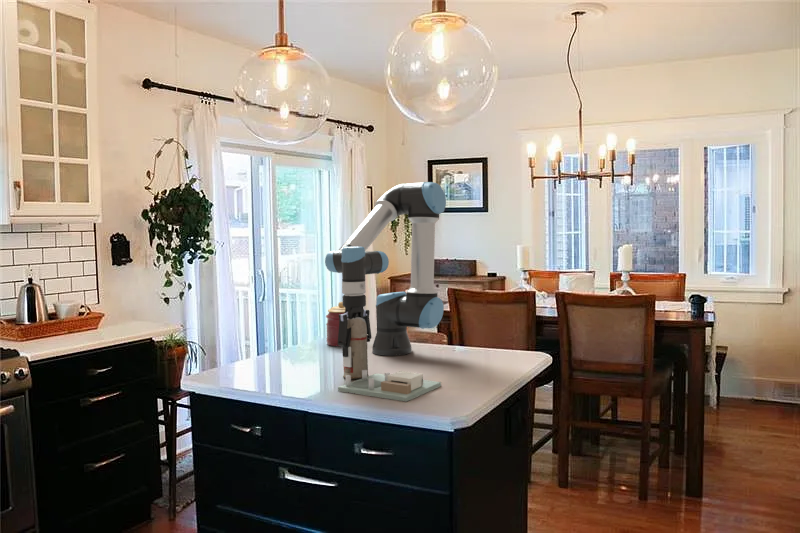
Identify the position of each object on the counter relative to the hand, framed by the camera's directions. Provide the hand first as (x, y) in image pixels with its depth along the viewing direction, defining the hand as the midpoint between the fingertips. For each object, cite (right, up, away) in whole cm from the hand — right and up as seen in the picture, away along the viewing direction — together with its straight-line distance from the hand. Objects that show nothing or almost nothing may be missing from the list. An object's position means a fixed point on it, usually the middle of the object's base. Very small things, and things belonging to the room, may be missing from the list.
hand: (355, 364), depth 214 cm
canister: (-10, -1, +60) cm, 60 cm away
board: (+12, -5, -15) cm, 20 cm away
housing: (+16, -4, -19) cm, 25 cm away
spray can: (0, -4, 0) cm, 4 cm away
